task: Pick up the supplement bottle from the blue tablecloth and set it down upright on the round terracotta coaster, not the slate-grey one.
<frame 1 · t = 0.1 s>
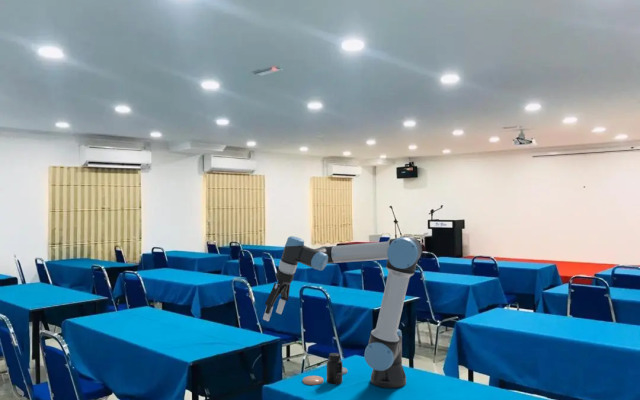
hand: (272, 316, 215), 28 cm above the table, tool tilted 20°, fingers open, 13 cm apart
terracotta coaster: (313, 381, 212), on the table
slate coaster: (337, 371, 224), on the table
supplement bottle: (334, 382, 211), on the table
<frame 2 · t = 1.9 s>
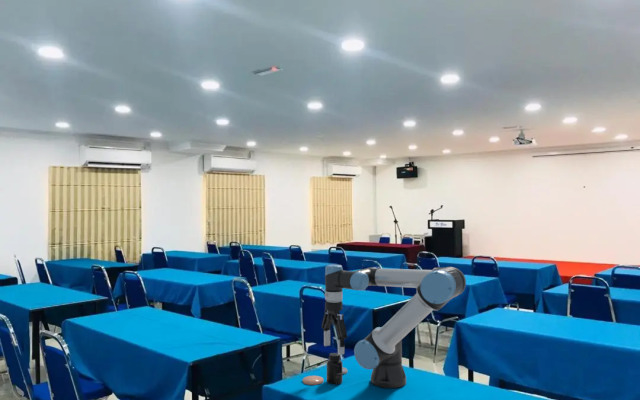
hand: (333, 349, 211), 14 cm above the table, tool pointing down, fingers open, 13 cm apart
nothing on the table moved.
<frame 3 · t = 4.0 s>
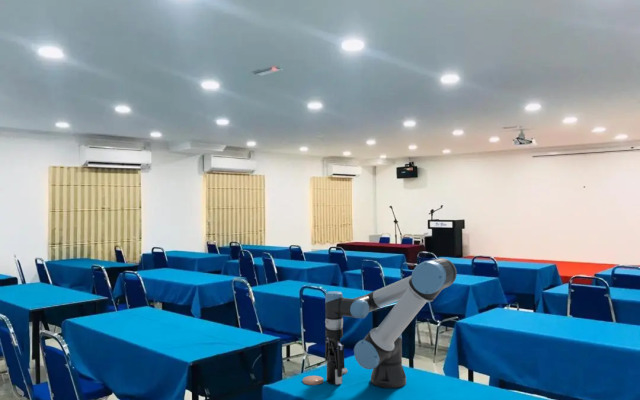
hand: (334, 380, 211), 1 cm above the table, tool pointing down, fingers closed on supplement bottle, 7 cm apart
supplement bottle: (334, 382, 211), on the table, touching gripper
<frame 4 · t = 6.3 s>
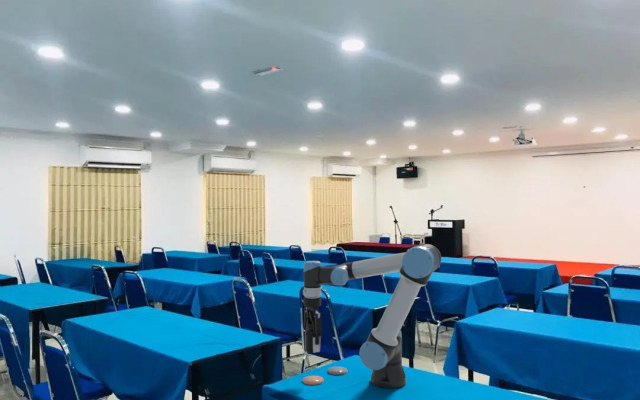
hand: (312, 349, 212), 14 cm above the table, tool pointing down, fingers closed on supplement bottle, 7 cm apart
supplement bottle: (312, 351, 212), point 13 cm above the table, touching gripper
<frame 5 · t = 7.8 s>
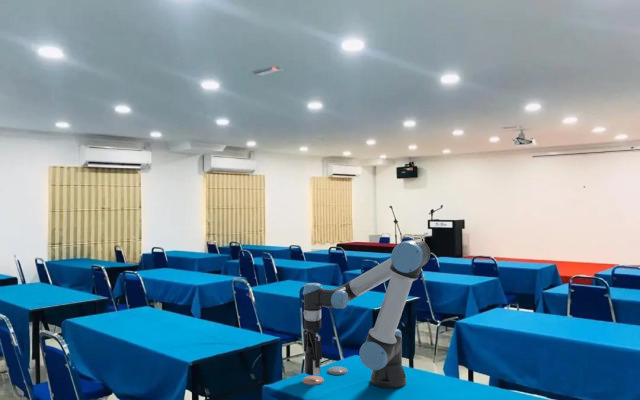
hand: (312, 371, 212), 4 cm above the table, tool pointing down, fingers closed on supplement bottle, 7 cm apart
supplement bottle: (312, 373, 212), point 3 cm above the table, touching gripper
when the fingers open (3 cm above the table, at t = 8.9 s): supplement bottle drops 1 cm, resting on terracotta coaster.
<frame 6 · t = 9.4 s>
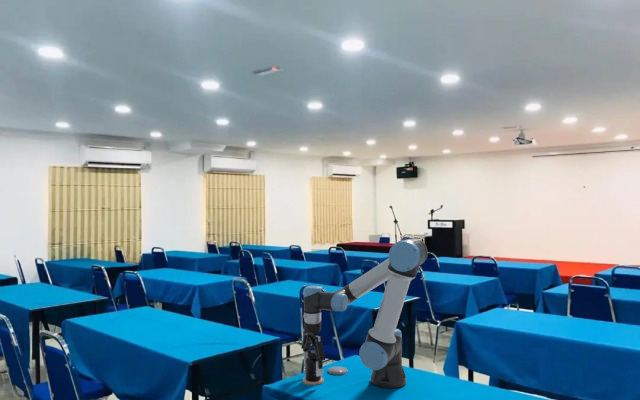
hand: (313, 370, 212), 4 cm above the table, tool pointing down, fingers open, 13 cm apart
supplement bottle: (313, 379, 212), point 1 cm above the table, touching terracotta coaster
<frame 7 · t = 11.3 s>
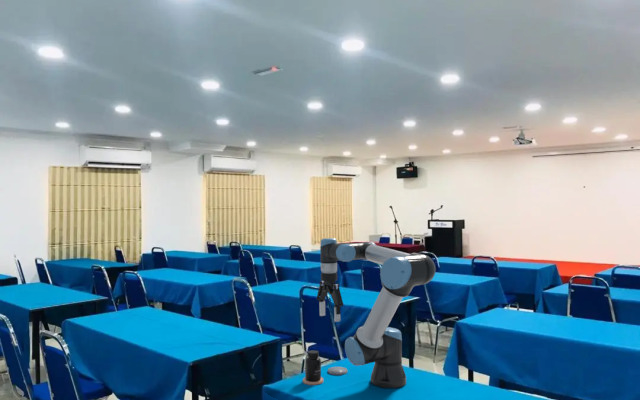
hand: (329, 318, 224), 25 cm above the table, tool pointing down, fingers open, 13 cm apart
nothing on the table moved.
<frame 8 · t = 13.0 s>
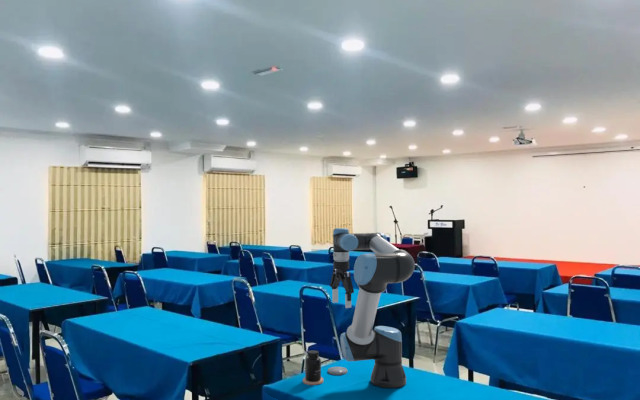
hand: (341, 305, 233), 29 cm above the table, tool pointing down, fingers open, 13 cm apart
nothing on the table moved.
at the end: supplement bottle 0.0 cm from the terracotta coaster (horizontally); supplement bottle tilted 0°; the gripper is holding nothing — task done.
